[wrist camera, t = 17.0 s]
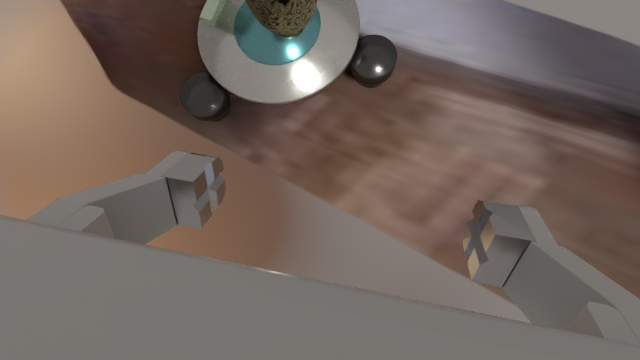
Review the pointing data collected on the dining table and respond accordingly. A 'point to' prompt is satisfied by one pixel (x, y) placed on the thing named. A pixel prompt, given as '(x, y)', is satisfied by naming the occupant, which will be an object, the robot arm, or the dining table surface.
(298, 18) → the cup
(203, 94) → the leveling base
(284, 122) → the dining table surface
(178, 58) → the dining table surface
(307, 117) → the dining table surface
